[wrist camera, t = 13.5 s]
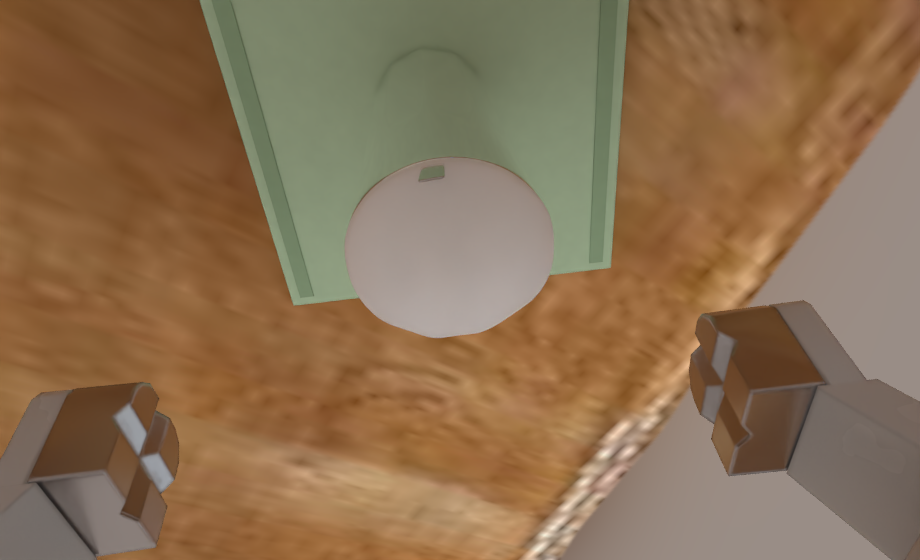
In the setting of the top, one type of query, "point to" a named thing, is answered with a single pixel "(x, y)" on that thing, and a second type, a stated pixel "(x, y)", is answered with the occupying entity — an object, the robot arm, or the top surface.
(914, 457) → the robot arm
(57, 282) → the top surface
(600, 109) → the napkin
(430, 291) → the milkshake
